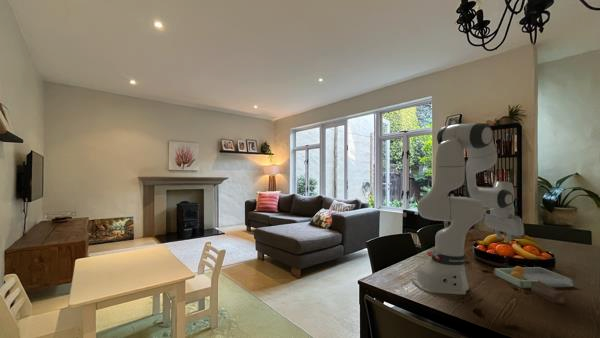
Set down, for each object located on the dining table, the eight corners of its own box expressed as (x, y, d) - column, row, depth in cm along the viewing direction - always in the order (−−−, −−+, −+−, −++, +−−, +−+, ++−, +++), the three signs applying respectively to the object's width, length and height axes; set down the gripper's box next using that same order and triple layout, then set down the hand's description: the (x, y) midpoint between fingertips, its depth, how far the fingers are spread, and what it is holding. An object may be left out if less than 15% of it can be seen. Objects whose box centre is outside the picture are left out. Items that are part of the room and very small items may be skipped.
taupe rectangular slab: (553, 304, 98) (553, 292, 98) (531, 292, 108) (531, 281, 108) (563, 305, 98) (563, 293, 98) (540, 292, 108) (540, 281, 108)
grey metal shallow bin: (540, 287, 111) (540, 280, 111) (511, 274, 126) (511, 267, 126) (572, 286, 112) (572, 279, 112) (540, 273, 127) (540, 267, 127)
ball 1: (523, 276, 119) (513, 271, 121) (520, 277, 123) (510, 271, 125) (527, 269, 120) (517, 263, 122) (523, 269, 123) (514, 264, 125)
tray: (521, 288, 111) (521, 281, 111) (494, 274, 125) (494, 268, 125) (538, 287, 111) (538, 280, 111) (509, 274, 126) (509, 268, 126)
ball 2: (509, 274, 121) (515, 268, 119) (518, 280, 118) (524, 275, 117) (507, 277, 118) (513, 271, 116) (517, 284, 116) (523, 278, 114)
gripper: (528, 216, 121) (528, 246, 121) (493, 209, 142) (493, 234, 142) (515, 216, 121) (515, 246, 121) (482, 209, 141) (482, 235, 142)
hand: (503, 240), depth 132 cm, fingers open, 3 cm apart
